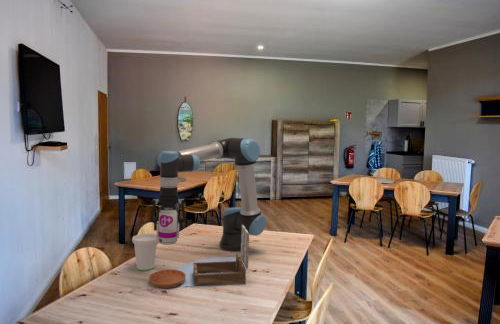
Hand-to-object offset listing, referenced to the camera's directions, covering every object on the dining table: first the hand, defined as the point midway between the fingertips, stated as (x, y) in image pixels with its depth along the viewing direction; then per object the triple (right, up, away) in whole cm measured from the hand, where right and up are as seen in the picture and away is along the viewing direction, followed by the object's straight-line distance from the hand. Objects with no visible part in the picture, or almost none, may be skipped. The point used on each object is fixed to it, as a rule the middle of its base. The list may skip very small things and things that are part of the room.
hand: (167, 237), depth 165 cm
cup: (-15, -19, +17) cm, 30 cm away
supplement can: (0, -3, 0) cm, 2 cm away
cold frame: (+22, -21, +8) cm, 31 cm away
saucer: (-1, -21, +2) cm, 21 cm away
